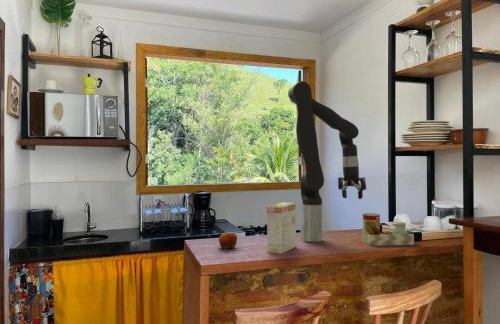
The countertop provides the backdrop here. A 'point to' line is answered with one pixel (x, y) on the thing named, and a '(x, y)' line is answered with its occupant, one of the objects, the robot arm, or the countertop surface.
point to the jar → (399, 228)
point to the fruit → (228, 240)
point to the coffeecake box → (281, 227)
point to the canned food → (371, 223)
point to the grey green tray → (388, 239)
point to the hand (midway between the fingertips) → (352, 198)
